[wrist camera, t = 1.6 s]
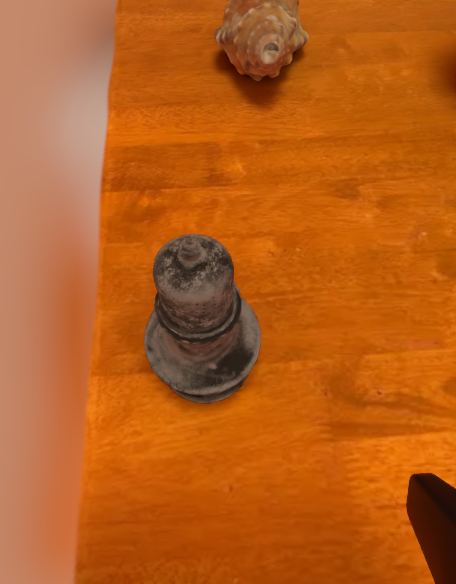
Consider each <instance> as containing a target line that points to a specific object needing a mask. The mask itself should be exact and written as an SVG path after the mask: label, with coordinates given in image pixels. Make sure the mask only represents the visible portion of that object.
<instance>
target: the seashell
mask: <svg viewBox="0 0 456 584" xmlns="http://www.w3.org/2000/svg"><path fill="white" fill-rule="evenodd" d="M298 4H299V0H229V2H228V3H227V5H226V7H225V13H224V18H223V23H222V27H220V28H218V29H216V31H215V39H216V42H217V44H218V45H219V46H223V47H224V51H225V52H226V53H227V55H228V57H229V59H230V62H231V63H232V64H233V65H234V66H235V67H236V69H237V71H238V72H239V73H240V74H241V75H246V74H247V75H249V76H250V77H251V78H252V79H253V80H256V81H259V80H261V79H262V78H263V77H264V76H269V77H271V78H273V77H276V76H278V75H279V73H280V68H281V67H282V66H285V65H288V64H290V63H291V61H292V53H293V52H294V51H296V50H297V49H299V48H300V47H302V46H303V45H305V44H306V43H307V41H308V33H307V32H306V31H305V30H304V28H302V25H301V23H300V15H299V11H298Z"/></svg>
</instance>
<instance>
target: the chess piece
mask: <svg viewBox="0 0 456 584" xmlns="http://www.w3.org/2000/svg"><path fill="white" fill-rule="evenodd" d="M153 277H154V282H155V285H156V288H157V291H158V292H157V294H156V298H155V305H154V307H155V310H154V311H153V312H152V314H151V316H150V318H149V321H148V323H147V325H146V330H145V337H144V345H145V352H146V356H147V359H148V361H149V363H150V366H151V368H152V370H153V371H154V372H155V373H156V374H157V375H158V377H159V378H160V379H161V380H162V381H163V382H165V383H166V384H168V385H169V386H170V388H171V389H172V390H173V391H174V392H175V393H176V394H178V395H179V396H181V397H182V398H184V399H186V400H189V401H192V402H195V403H213V402H217V401H221V400H223V399H225V398H227V397H229V396H231V395H232V394H234V393H235V392H236V391H237V390H238V389H239V388H240V387H241V386H242V384H243V383H244V381H245V379H246V378H247V376H248V373H249V372H250V370H251V369H252V367H253V365H254V364H255V362H256V361H257V357H258V354H259V350H260V347H261V330H260V326H259V323H258V319H257V317H256V315H255V313H254V312H253V310H252V308H251V307H250V305H249V304H248V303H247V302H246V301H245V300H244V299H243V298H242V297H241V296H240V292H239V289H238V288H237V286H236V285H235V283H234V281H233V278H234V266H233V262H232V259H231V256H230V254H229V253H228V251H227V249H226V248H225V247H224V246H223V245H222V244H221V243H220V242H219V241H217V240H215V239H213V238H211V237H208V236H204V235H198V234H189V235H183V236H180V237H177V238H175V239H172V240H171V241H169V242H168V243H166V244H165V245H164V246H163V247H162V248H161V249H160V250H159V252H158V254H157V256H156V258H155V260H154V267H153Z"/></svg>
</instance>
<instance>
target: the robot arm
mask: <svg viewBox="0 0 456 584" xmlns="http://www.w3.org/2000/svg"><path fill="white" fill-rule="evenodd" d="M406 506H407V513H408V517H409V519H410V522H411V524H412V527H413V529H414V532H415V534H416V537H417V539H418V542H419V544H420V547H421V549H422V551H423V554H424V556H425V559H426V561H427V564H428V566H429V569H430V571H431V574H432V576H433V579H434V581H435V584H456V489H455V488H454V487H452V486H451V485H449V484H448V483H446V482H445V481H443V480H442V479H440V478H439V477H437V476H436V475H434V474H432V473H420V474H413V475H412V476H411V477H410V480H409V487H408V495H407V504H406Z"/></svg>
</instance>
